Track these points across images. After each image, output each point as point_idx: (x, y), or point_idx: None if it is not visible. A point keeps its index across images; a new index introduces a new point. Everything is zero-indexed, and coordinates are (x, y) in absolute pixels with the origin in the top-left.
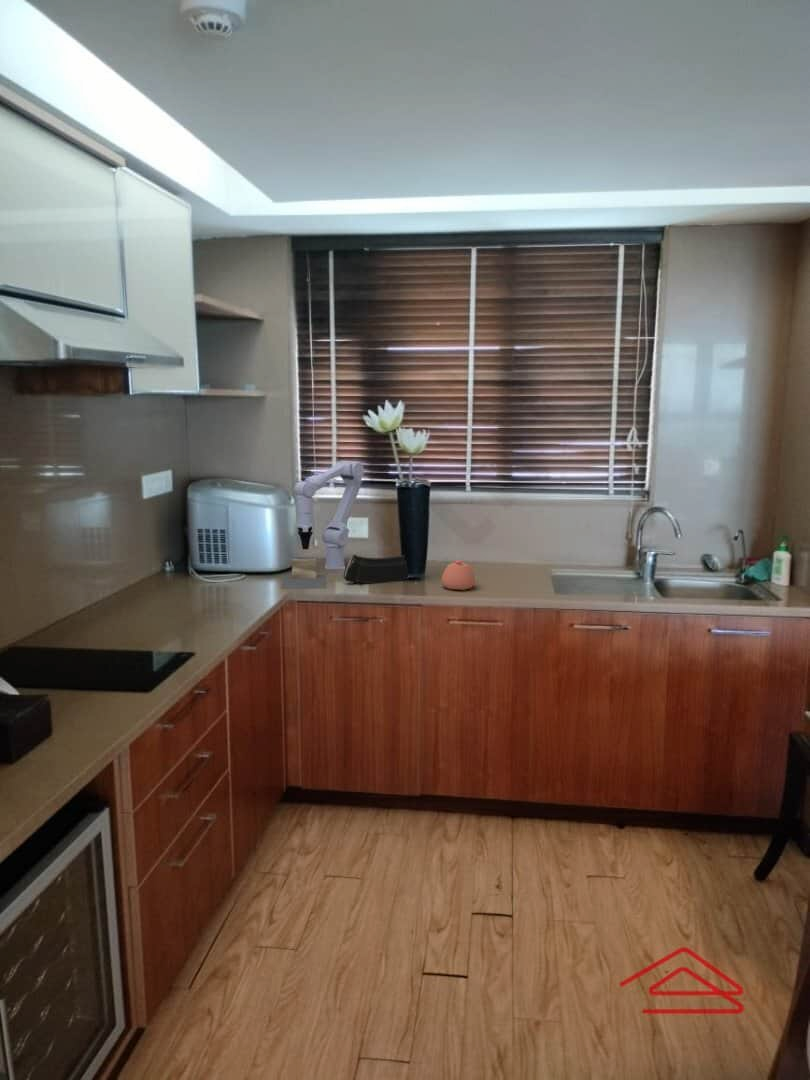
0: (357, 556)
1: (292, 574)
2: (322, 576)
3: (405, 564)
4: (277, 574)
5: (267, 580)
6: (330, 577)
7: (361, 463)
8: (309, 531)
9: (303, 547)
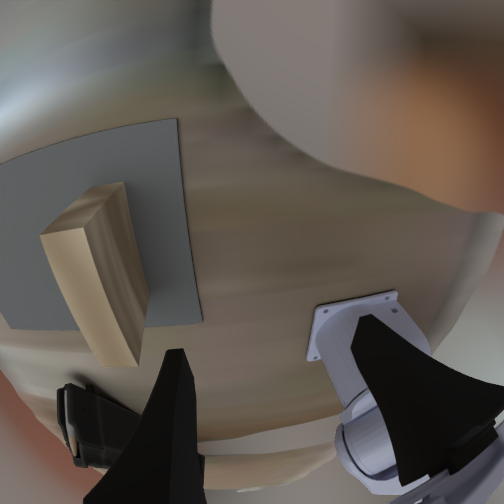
0: (91, 465)
1: (81, 196)
2: (161, 315)
3: None
4: (221, 75)
5: (67, 59)
6: (165, 337)
7: None
8: (400, 453)
9: (164, 369)
